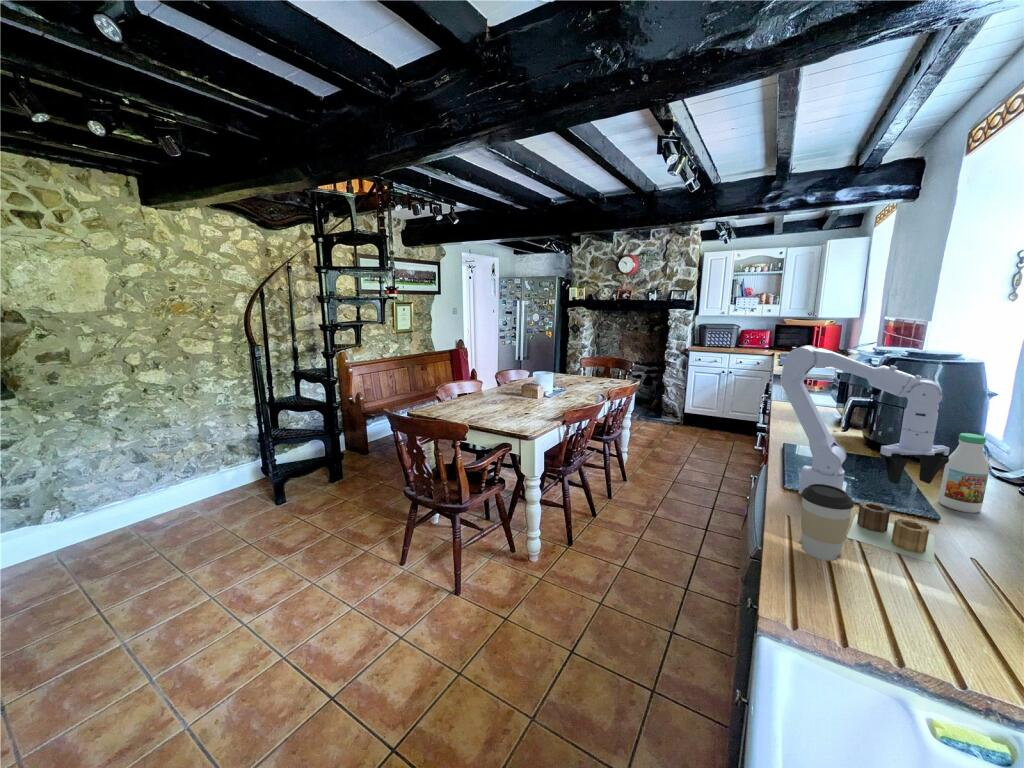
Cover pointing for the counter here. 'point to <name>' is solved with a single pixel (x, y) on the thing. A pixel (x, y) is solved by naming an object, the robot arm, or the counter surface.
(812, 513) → the coffee cup
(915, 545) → the oak cog
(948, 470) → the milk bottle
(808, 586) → the counter surface
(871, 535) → the board
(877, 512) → the walnut cog
